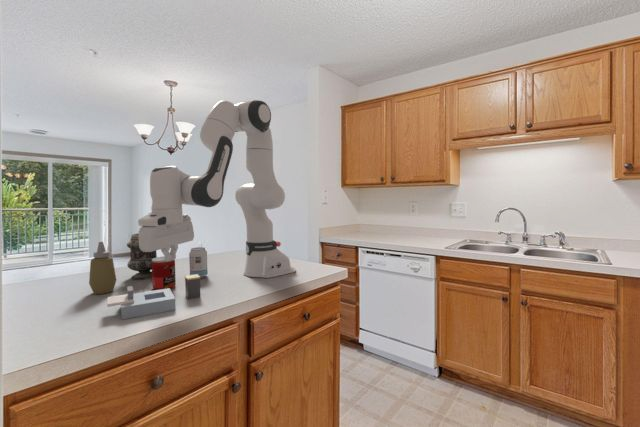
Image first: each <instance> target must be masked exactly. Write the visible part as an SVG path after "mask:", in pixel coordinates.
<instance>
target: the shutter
mask: <svg viewBox="0 0 640 427" xmlns="http://www.w3.org/2000/svg"><path fill="white" fill-rule="evenodd" d="M126 290H127V293H126V294H119V295H112V296H108V297H107V303H106V304H107V308H110V307H116V306H121V305H122V304H128V303H134V296H133V294H134V287H133V285H131V286H130V285H129V286H127V287H126Z"/></svg>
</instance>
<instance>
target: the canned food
mask: <svg viewBox="0 0 640 427" xmlns="http://www.w3.org/2000/svg"><path fill="white" fill-rule="evenodd" d="M175 260H176V259H173V260H170V261H166V260H165V256H157V258H153V259H152V270H151V272H152V278H151V281H152V289H153V291H154V290H161V289H167V288H170V290H172V289H174V288H175V287H176V261H175Z"/></svg>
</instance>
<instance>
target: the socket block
mask: <svg viewBox="0 0 640 427" xmlns="http://www.w3.org/2000/svg"><path fill="white" fill-rule="evenodd" d="M133 296H134V303H128V304H122V305H120V309H121V320H122V321H123V320H129V319H133V318H137V317H139V318H140V317H142V316H149V315H155V314H159V313H165V312H172V311H175V310H176V309H177V308H176V306H177V305H176V298H175V296H174V294H173V292H172V289H170V288H167V289H161V290H154V289H153V290H149V291H143V292H136V293H135V292H133Z"/></svg>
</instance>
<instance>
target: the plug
mask: <svg viewBox="0 0 640 427" xmlns="http://www.w3.org/2000/svg"><path fill="white" fill-rule="evenodd" d="M184 282H185V283H184V284H185V297H186V299H187V300H191V299H197V298H201V278H200V276H199V275H198V274H195V275H190V274H189V275H188V274H187V275H184Z"/></svg>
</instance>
